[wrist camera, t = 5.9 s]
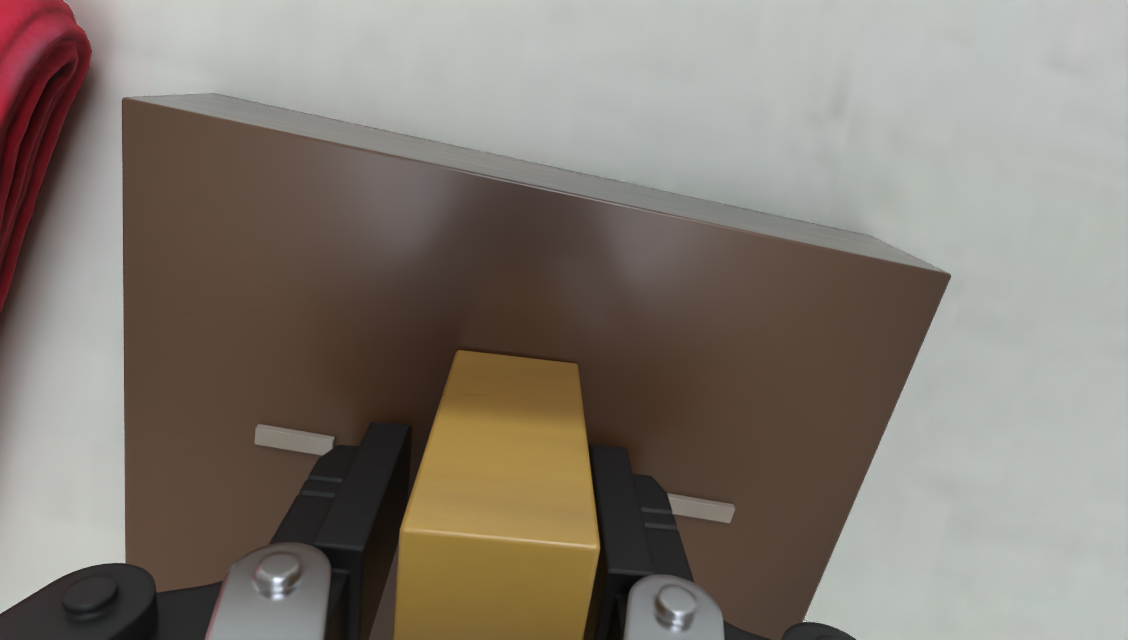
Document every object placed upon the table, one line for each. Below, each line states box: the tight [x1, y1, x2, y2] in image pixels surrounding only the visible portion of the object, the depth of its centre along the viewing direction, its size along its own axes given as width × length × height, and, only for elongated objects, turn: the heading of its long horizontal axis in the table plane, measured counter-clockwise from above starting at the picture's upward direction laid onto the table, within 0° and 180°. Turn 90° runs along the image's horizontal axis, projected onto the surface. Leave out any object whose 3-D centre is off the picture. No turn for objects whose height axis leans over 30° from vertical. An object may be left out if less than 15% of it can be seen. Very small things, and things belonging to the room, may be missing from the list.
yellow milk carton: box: [392, 350, 600, 640], centre depth 10 cm, size 5×2×5 cm, turn 172°
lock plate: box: [122, 93, 951, 640], centre depth 14 cm, size 14×11×3 cm
